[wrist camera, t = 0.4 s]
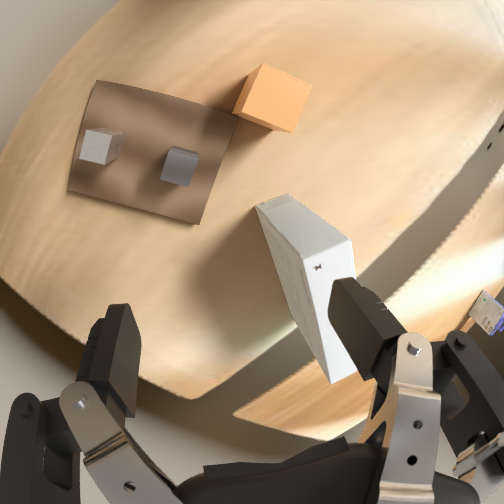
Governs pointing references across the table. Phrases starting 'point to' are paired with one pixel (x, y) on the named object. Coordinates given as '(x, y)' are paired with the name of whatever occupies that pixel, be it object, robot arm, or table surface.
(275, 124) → the peach wooden cube
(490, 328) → the ink cartridge box
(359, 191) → the table surface
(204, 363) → the table surface
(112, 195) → the post board
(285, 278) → the skincare box
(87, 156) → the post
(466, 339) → the robot arm
